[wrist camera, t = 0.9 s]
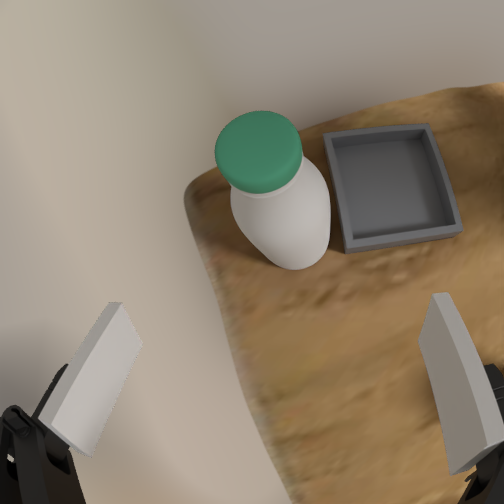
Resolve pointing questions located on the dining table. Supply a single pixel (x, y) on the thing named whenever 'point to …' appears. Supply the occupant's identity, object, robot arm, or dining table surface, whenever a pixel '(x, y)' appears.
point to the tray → (390, 187)
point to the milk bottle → (275, 189)
